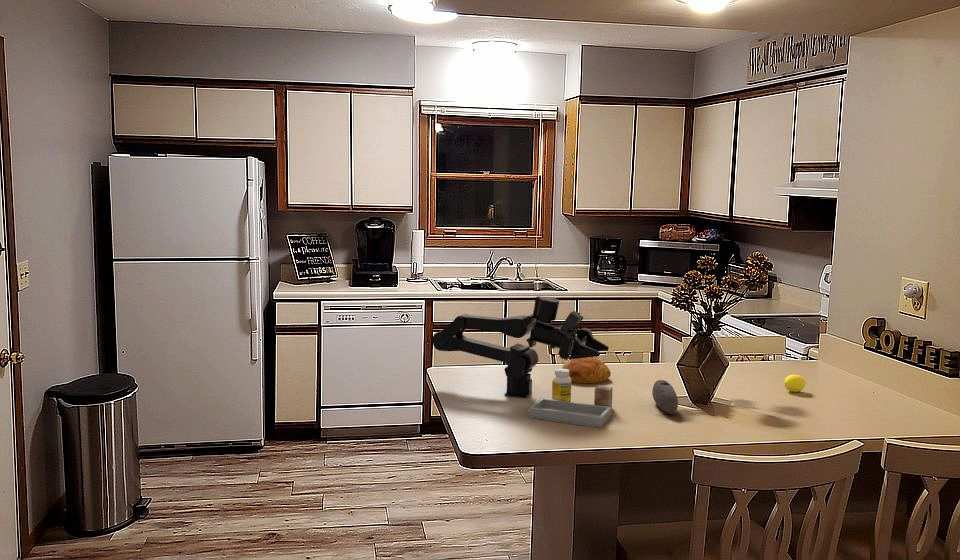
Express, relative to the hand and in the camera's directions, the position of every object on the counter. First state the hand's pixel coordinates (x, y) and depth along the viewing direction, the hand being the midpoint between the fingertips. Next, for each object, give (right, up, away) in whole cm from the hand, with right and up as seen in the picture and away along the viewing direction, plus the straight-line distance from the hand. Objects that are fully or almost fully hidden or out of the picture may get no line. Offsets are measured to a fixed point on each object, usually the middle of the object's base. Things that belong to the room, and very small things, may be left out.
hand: (604, 351), depth 221 cm
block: (0, -16, -1) cm, 16 cm away
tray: (-10, -17, -9) cm, 21 cm away
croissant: (-1, -12, +32) cm, 34 cm away
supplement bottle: (-11, -15, +4) cm, 19 cm away
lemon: (+61, -14, +21) cm, 66 cm away
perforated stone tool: (+17, -16, 0) cm, 24 cm away
